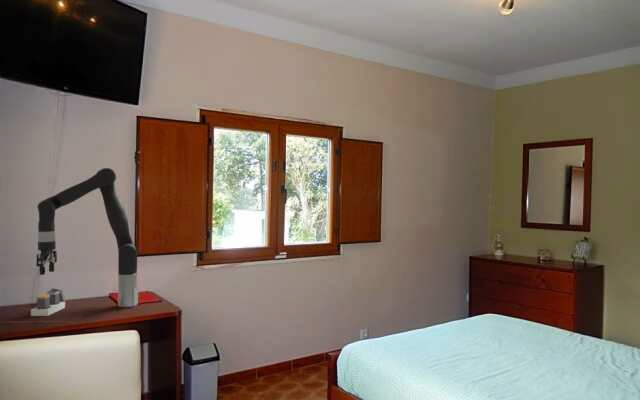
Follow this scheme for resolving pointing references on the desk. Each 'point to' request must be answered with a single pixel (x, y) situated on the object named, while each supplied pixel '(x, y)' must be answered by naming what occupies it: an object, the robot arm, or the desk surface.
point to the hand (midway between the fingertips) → (47, 273)
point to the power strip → (47, 310)
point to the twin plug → (54, 297)
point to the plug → (43, 302)
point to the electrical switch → (61, 296)
